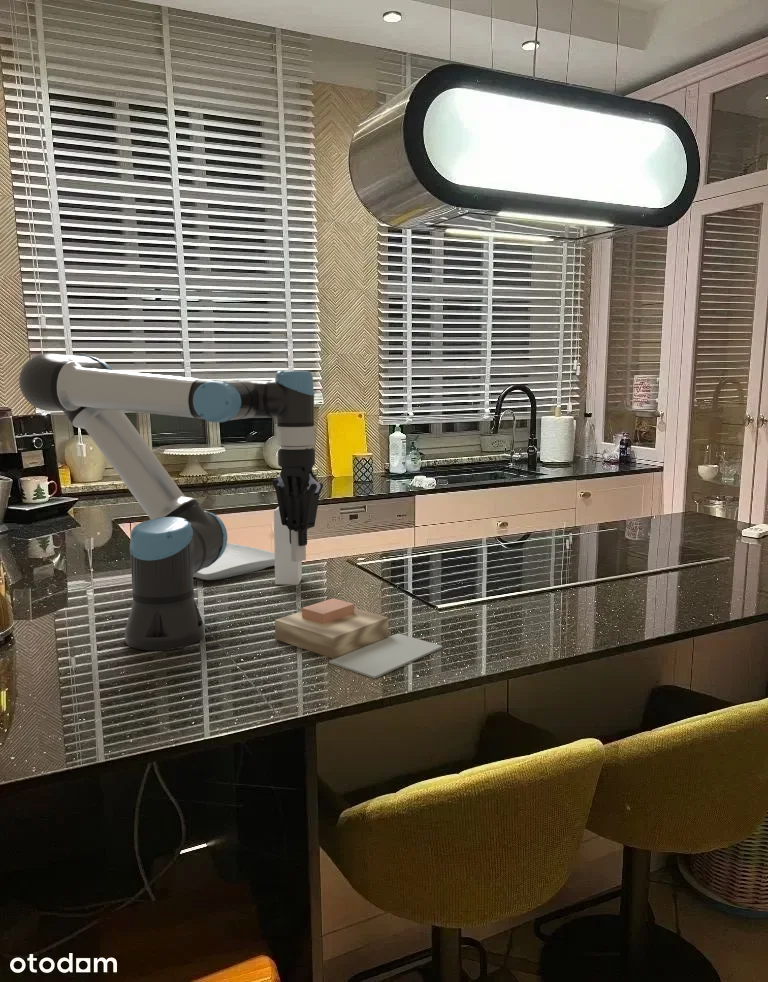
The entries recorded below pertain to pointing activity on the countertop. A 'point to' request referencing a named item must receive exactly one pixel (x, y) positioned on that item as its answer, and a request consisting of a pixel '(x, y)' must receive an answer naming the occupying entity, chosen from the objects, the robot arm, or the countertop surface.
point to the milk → (284, 555)
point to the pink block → (327, 610)
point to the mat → (385, 655)
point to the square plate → (237, 562)
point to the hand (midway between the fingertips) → (298, 560)
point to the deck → (332, 632)
